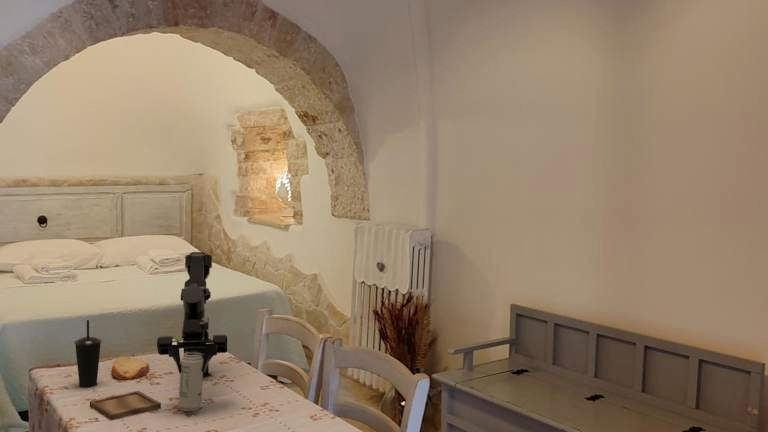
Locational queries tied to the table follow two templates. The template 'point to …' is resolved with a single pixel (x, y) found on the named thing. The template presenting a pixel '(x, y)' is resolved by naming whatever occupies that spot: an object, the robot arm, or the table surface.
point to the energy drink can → (191, 381)
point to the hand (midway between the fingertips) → (191, 372)
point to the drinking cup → (88, 359)
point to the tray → (125, 405)
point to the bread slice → (129, 368)
